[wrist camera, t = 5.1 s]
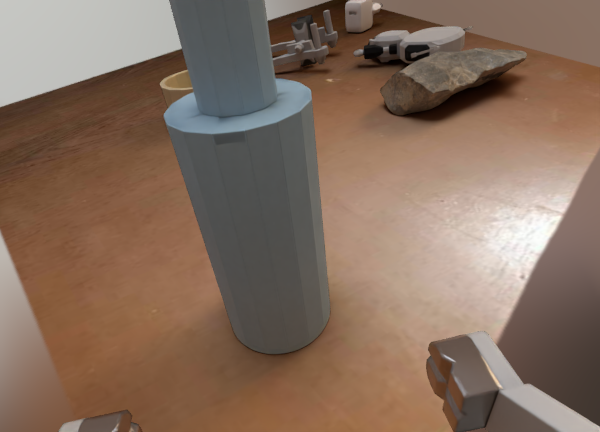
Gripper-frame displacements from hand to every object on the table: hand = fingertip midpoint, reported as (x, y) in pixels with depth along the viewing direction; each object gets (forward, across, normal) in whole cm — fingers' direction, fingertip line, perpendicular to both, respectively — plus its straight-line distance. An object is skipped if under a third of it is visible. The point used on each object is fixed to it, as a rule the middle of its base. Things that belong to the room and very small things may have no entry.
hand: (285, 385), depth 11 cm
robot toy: (+54, -27, +9) cm, 61 cm away
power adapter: (+83, -29, +9) cm, 89 cm away
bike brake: (+65, -7, +9) cm, 66 cm away
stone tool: (+39, -26, +9) cm, 48 cm away
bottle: (+10, 0, +8) cm, 13 cm away
